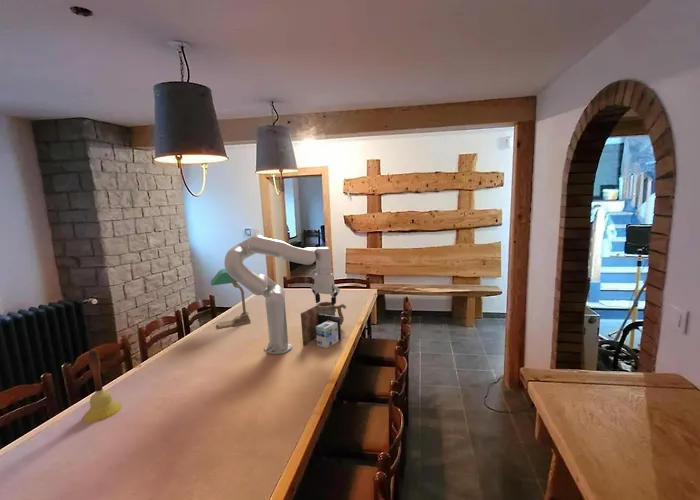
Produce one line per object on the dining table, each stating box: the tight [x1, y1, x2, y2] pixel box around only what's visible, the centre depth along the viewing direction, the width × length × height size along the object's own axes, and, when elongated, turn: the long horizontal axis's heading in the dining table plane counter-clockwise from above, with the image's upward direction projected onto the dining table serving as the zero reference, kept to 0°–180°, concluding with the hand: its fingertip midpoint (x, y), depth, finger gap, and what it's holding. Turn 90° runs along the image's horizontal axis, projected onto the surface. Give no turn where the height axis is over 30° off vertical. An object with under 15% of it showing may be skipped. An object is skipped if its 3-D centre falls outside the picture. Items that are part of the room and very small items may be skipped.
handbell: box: [82, 348, 123, 423], centre depth 135 cm, size 12×12×25 cm
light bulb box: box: [316, 321, 339, 349], centre depth 190 cm, size 11×7×11 cm, turn 144°
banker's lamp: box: [210, 268, 252, 329], centre depth 226 cm, size 16×21×35 cm
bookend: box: [318, 314, 342, 341], centre depth 196 cm, size 1×14×13 cm, turn 61°
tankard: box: [315, 301, 347, 326], centre depth 213 cm, size 20×13×15 cm, turn 62°
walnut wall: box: [300, 305, 319, 347], centre depth 194 cm, size 15×1×18 cm, turn 151°
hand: (325, 303), depth 187 cm, fingers open, 9 cm apart
